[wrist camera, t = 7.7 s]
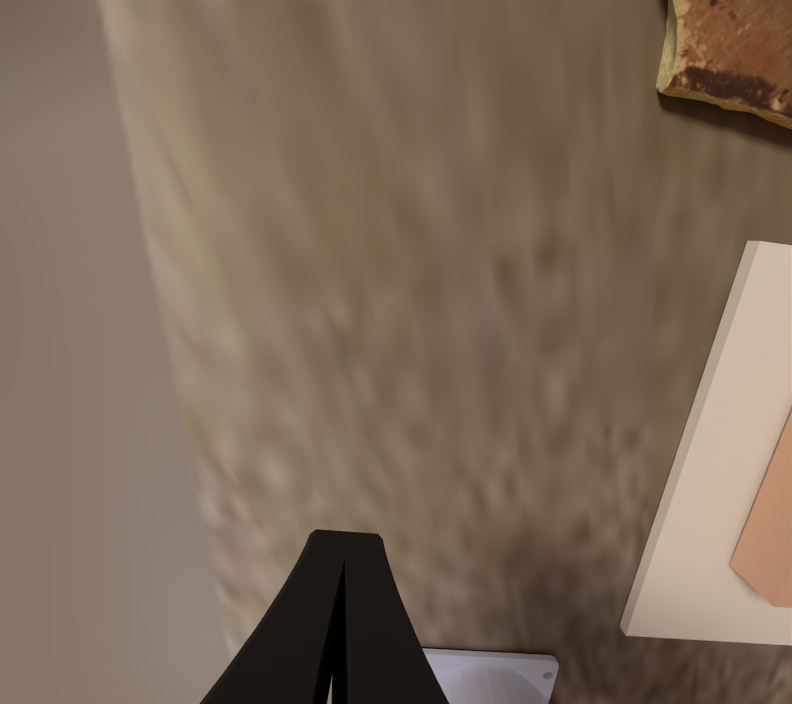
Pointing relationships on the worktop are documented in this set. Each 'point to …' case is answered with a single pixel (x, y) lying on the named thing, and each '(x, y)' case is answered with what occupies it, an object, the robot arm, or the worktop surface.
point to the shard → (730, 55)
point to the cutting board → (723, 471)
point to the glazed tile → (770, 531)
